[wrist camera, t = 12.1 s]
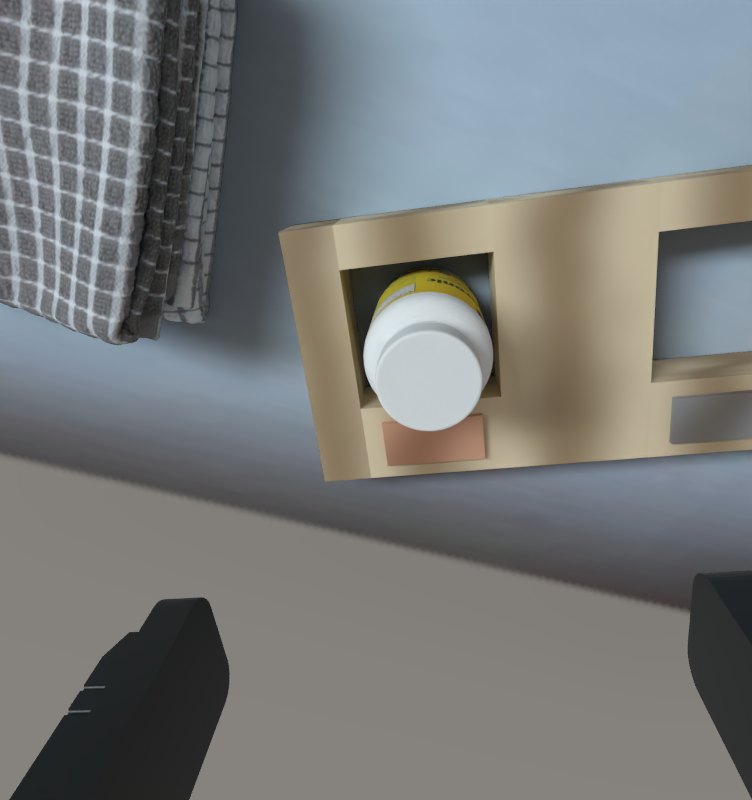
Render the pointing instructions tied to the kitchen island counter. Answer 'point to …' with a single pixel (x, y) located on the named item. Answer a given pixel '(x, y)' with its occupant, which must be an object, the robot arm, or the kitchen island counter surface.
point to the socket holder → (529, 330)
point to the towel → (112, 159)
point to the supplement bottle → (428, 350)
